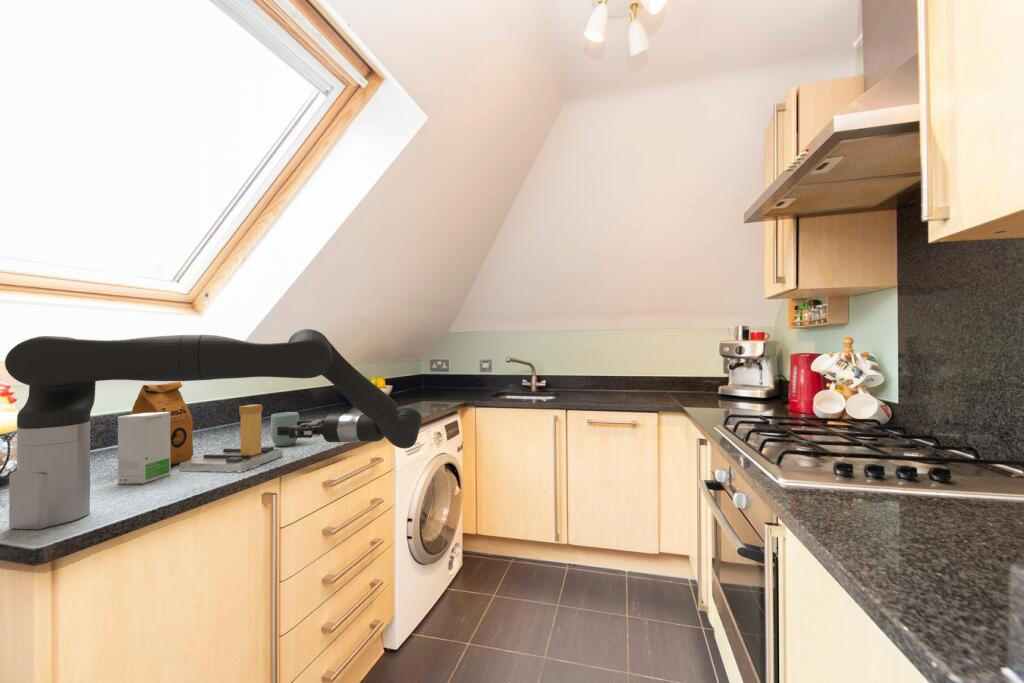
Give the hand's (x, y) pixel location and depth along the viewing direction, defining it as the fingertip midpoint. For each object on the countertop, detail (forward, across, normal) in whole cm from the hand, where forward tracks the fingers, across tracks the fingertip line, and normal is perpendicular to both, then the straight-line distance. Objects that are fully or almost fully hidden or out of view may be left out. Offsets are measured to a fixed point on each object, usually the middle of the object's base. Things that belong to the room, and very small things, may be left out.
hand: (288, 427), depth 118 cm
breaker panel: (+15, +1, +9) cm, 17 cm away
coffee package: (+33, +4, +9) cm, 34 cm away
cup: (+14, -21, +10) cm, 27 cm away
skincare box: (+26, +16, +9) cm, 32 cm away
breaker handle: (+10, 0, +7) cm, 13 cm away
